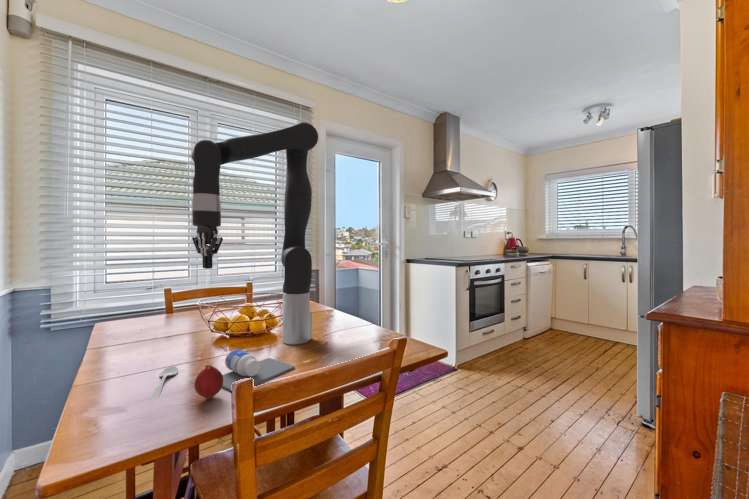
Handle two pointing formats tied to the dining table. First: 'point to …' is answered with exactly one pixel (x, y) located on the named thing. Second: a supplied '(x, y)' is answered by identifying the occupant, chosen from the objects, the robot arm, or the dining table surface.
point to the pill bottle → (242, 363)
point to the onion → (209, 382)
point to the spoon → (168, 370)
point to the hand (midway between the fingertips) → (207, 268)
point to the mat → (267, 371)
